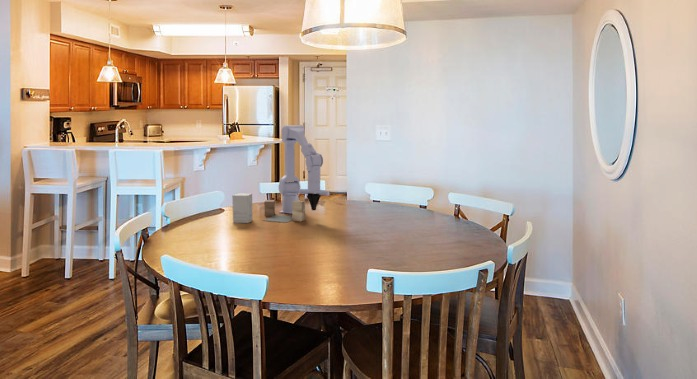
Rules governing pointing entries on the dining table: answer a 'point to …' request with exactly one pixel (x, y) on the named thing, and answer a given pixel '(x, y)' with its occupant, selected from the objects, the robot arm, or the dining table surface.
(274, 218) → the felt mat
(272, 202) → the walnut block
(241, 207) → the supplement box
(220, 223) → the dining table surface
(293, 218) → the maple block
